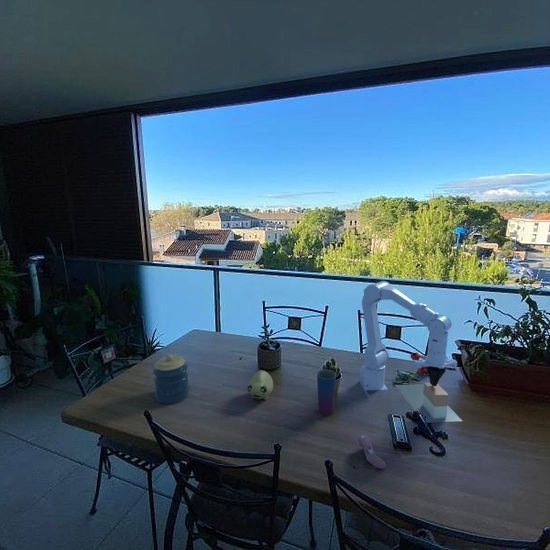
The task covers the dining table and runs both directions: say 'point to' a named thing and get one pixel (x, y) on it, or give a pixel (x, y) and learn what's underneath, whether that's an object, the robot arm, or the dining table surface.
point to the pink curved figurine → (370, 452)
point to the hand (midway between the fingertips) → (433, 384)
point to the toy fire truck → (416, 357)
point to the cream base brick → (434, 409)
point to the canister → (171, 379)
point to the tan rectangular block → (435, 395)
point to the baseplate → (415, 400)
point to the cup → (326, 391)
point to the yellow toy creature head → (260, 385)
